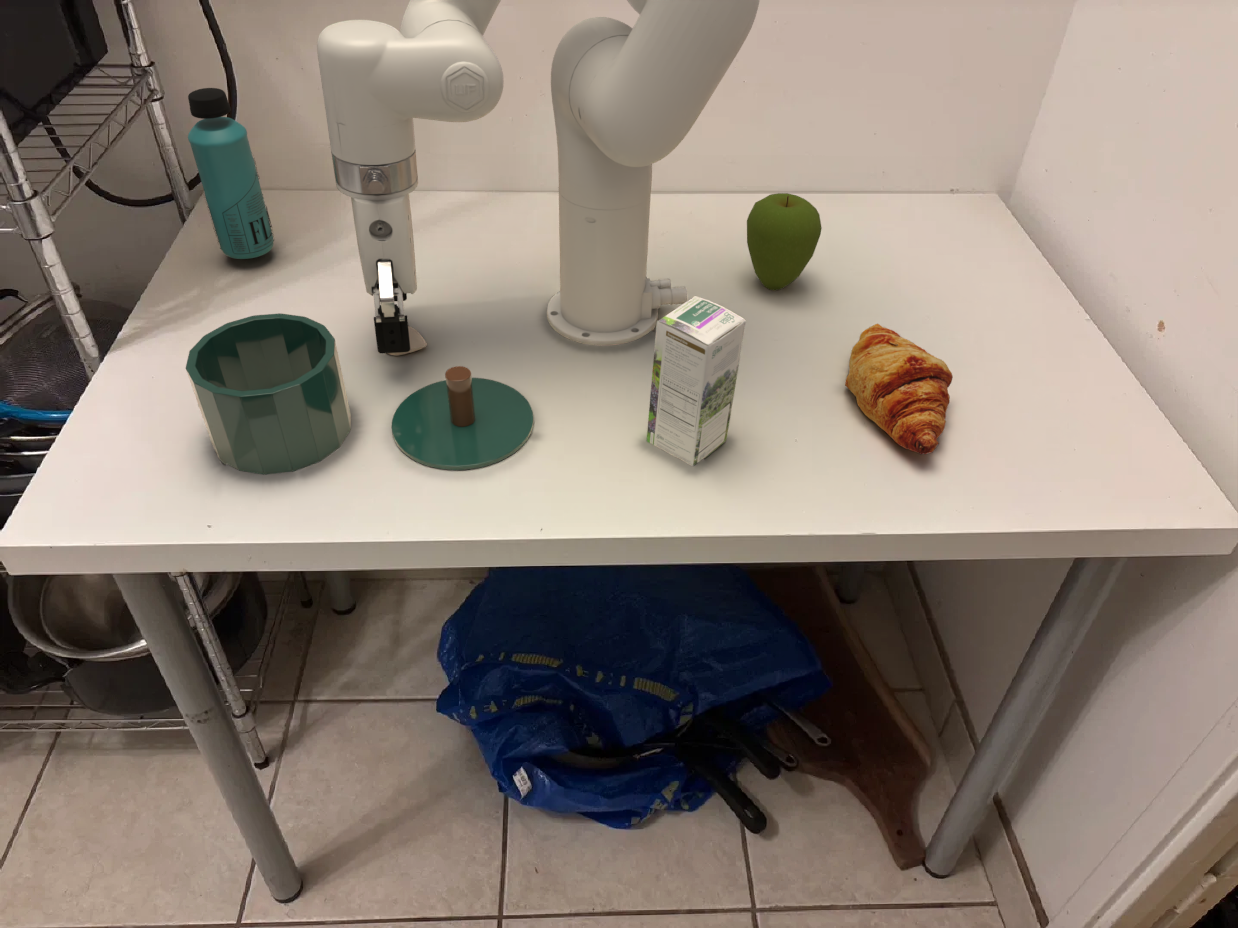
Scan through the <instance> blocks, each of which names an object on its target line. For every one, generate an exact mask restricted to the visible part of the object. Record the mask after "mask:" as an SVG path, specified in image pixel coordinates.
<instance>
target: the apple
mask: <svg viewBox="0 0 1238 928" xmlns="http://www.w3.org/2000/svg"><path fill="white" fill-rule="evenodd" d="M822 228H823V227H822V222H821V216H820V213H819V211H818V209H817V208H816V207H815V205H813V204H812V203H811V202H810V201H808V200H807V199H805V198H804V197H801V196H799V195H796V194H792V193H788V192H787V193H786V192H784V193H783V192H781V193H780V192H778V193H771V194H769V195H767V196H765V197H763V198H761V199H759V200H757V201H756V202H754V205H753V206H752V208H751V210H750V212H749V214H748V216H747V219H746V244H747V249H748V253H749V256H750V260H751V264H752V268H753V271H754V273H755V275H756V277H757V278H758V279H759V281H760V283H761V284H762V285H763V286H764V288H766V289H768V290H769V291H780V290H783V289H784V288H786V287H787V286H788V285H790V284H792V283H793V282H795V280H797V279H798V278H799V277H800V276H801V274H802V273H803V271H804V269H805V268H806V267H807V265H808V264H809V262H810V261H811V260H812V258H813V256H814V254H815V251H816V248H817V246H818V243H819V239H820V237H821V233H822V230H823V229H822Z"/></svg>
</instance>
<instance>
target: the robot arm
mask: <svg viewBox="0 0 1238 928" xmlns="http://www.w3.org/2000/svg"><path fill="white" fill-rule="evenodd" d="M501 1H502V0H409V1H408V4H407V6H406V8H405V11H404V14H403V16H402V19H401V23H400V27H399V30H398V29H397V28H396V27H394V26H393V25H391V24H388V23H385V22H381V21H377V20H371V19H349V20H342V21H338V22H335V23H331V24H329V25H327V26H326V27H325V28H323V29H322V31H320V33H319V34H318V38H317V42H316V51H317V60H318V67H319V74H320V82H321V90H322V96H323V104H324V109H325V116H326V123H327V130H328V138H329V146H330V153H331V160H332V167H333V173H334V180H335V187H336V189H337V190H338V191H339V192H340V193H341V194H343V195H345V196H346V197H349V198H350V199H351V200H350V201H351V210H352V215H353V221H354V229H355V236H356V237H355V238H356V243H357V244H356V245H357V248H358V254H359V260H360V261H359V262H360V266H361V272H362V277H363V281H364V286H365V290H366V291H365V292H366V293H367V294H368V295H370V296H372V297H373V303H374V304H373V305H374V312H375V313H374V315H375V316H373V323H374V325H373V326H374V333H375V340H376V349H377V352H378V353H379V354H382V355H383V354H387V353H400V352H409V351H410V340H409V330H408V326H409V322H408V319H409V318H408V314H407V315H405V309H404V308H405V307H404V306H405V305H404V302H405V301H407V299H408V294H410V295H414V294H415V293H416V292H417V290H418V284H417V283H418V281H417V268H416V255H415V254H416V253H415V244H414V231H413V219H412V209H411V201H410V194H411V193H412V192H413V191H415V190H416V188H417V187H418V185H419V177H418V176H419V175H418V164H417V152H416V149H417V148H416V139H415V138H416V137H415V125H414V119H419V120H420V119H421V120H430V121H436V122H446V123H469V122H473V121H477V120H479V119H480V120H481V118H484V117H485V116H487V115H488V114H490V113H491V112H492V111H493V110H494V109H495V108H496V106H497V105H498V104H499V102H500V101H501V97H502V95H503V91H504V84H505V83H504V71H503V68H502V66H501V62H500V59H499V58H498V55H497V54H496V53H495V51H494V50H493V48H492V47H491V45H490V43H489V42H488V41H487V40H486V38H485V36H484V35H485V33H486V31H487V28H488V27H489V24H490V22H491V20H492V18H493V16H494V14H495V13H496V10H497V9H498V6H499V4H500V3H501ZM626 1H627V3H628V4H629V5H630V7H631V8H632V9H633V10H634V11H635V12H636V13H637V14H639V16H638V17H637V19H636V21H635V23H634V25H633V27H631V26H630V25H629V24H626V23H625V22H623V21H621V20H619V19H615V18H612V17H606V16H595V17H590V18H586V19H584V20H582V21H579V22H577V23H576V24H574V25H573V26H572V27H571V28H569V30H567V31H566V33H565V34H564V35H563V36H562V38H561V40H559V43H558V44H557V46H556V49H555V51H554V55H553V57H552V62H551V69H550V94H551V103H552V110H553V119H554V126H555V134H556V146H557V166H558V167H557V168H558V169H557V172H558V239H559V244H558V245H559V290H558V291H557V292H556V293H555V294H554V295H553V296H551V298H550V300H549V301H548V302H547V306H546V319H547V321H548V323H549V325H550V327H551V328H552V329H553V330H554V331H555V332H556V333H557V334H559V335H560V336H562V337H564V338H566V339H568V340H570V341H573V342H576V343H579V344H583V345H589V346H597V347H598V346H599V347H605V346H619V345H625V344H628V343H632V342H634V341H637V340H639V339H641V338H643V337H645V336H647V335H648V334H649V333H650V332H653V331H654V329H656V325H657V321H658V320H659V319H658V318H659V317H658V316H659V315H658V314H659V313H658V311H659V309H660V307H661V306H666V305H671V306H673V305H674V306H675V305H682V304H684V303H685V302H687V301H688V290H687V287H686V286H685V285H684V286H675V287H672V281H671V279H670V277H669V278H659V279H652V280H651V279H650V277H647V270H648V254H649V253H648V252H649V235H650V233H649V232H650V213H651V199H652V198H651V195H652V186H653V184H652V183H653V164H655V163H657V162H659V161H661V160H662V159H664V158H666V157H667V156H668V155H669V154H671V153H672V152H673V151H674V150H675V149H676V148H677V147H678V146H679V145H680V144H681V143H682V142H683V140H684V139H685V138H686V136H687V135H688V133H689V132H690V131H691V130H692V128H693V126H694V125H695V123H696V122H697V120H698V118H699V117H700V116H701V114H702V112H703V110H704V109H705V107H706V105H707V104H708V103H709V101H710V100H711V98H712V96H713V94H714V92H715V91H716V89H717V87H718V86H719V85H720V83H721V81H722V80H723V78H724V77H725V75H726V73H727V72H728V70H729V68H730V67H731V65H732V63H734V60H735V58H736V57H737V55H738V54H739V52H740V50H741V48H742V47H743V45H744V43H745V41H746V39H747V38H748V36H749V34H750V32H751V30H752V27H753V25H754V22H755V19H756V16H757V13H758V11H759V10H758V9H759V5H760V1H761V0H626ZM395 302H397V303H395Z"/></svg>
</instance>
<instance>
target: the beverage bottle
mask: <svg viewBox="0 0 1238 928" xmlns="http://www.w3.org/2000/svg"><path fill="white" fill-rule="evenodd" d="M187 100H188V103H189V111H190V114H191V116H192V117H193V118H196V119H200V120H199V121H197V122H196V123H195V124H194V125H193V127H192V128H191V129H190V130H189V133H188V134H187V139H188V142H189V144H190V148H191V151H192V154H193V158H194V161H195V164H196V168H197V171H198V175H199V178H200V182H201V185H202V188H203V193H204V200H205V202H206V205H207V211H208V214H209V216H210V221H211V224H212V225H213V226H212V228H213V230H214V231H213V232H214V234H215V235H216V238H217V243H218V245H219V249H220V250H221V251H222V253H223V254H224V256H227V257H228V258H231V259H237V260H246V259H247V260H249V259H253V258H258V257H261V256H264V255H266V254H267V253H269V252H270V251H271V250H272V249H273V247H274V242H275V240H276V239H275V238H276V237H275V235H274V232H273V231H274V229H273V225H272V222H271V218H270V214H269V211H268V206H267V205H266V201H265V198H264V194H263V191H262V188H261V183H260V175H259V172H258V167H257V163H256V161H255V157H254V156H255V155H254V154H253V152H252V149H251V144H250V141H249V137H248V131H247V128H246V127H245V126H244V125H243V124H241V123H240V122H238V121H237V120H235V119H233V118H232V117H226V116H227V115H229V114H230V113H231V111H232V107H231V105H230V102H229V100H228V96H227V93H226V92H225V90H223V89H222V88H216V87H203V88H199V89H195V90H192V91H191V92H190V93H189V94H188V96H187Z"/></svg>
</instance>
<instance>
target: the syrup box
mask: <svg viewBox="0 0 1238 928" xmlns="http://www.w3.org/2000/svg"><path fill="white" fill-rule="evenodd" d="M746 323H747V320H746V319H745V318H743V317H742V316H740V315H739V314H737V313H735V312H733V311H732V310H730V309H728V308H726V307H724V306H722V305H720V304H718V303H716V302H714V301H711V300H709V299H706V298H703V297H700V296H696V295H694V296H693V297H691V298H690V299H689V300H688V299H687V302H685V303H684V304H680V305H679V306H678V307H676V308H675V309H673V310H672V311H670V312H669V313H667V314H666V315H665V316H663V317H661V318H660V319H657V324H656V326H655V335H654V336H655V337H654V338H655V339H654V349H653V360H652V372H651V383H650V395H649V407H648V408H649V409H648V419H647V430H646V431H647V432H646V440H645V441H646V442H647V443H649V444H651V445H652V446H654V447H656V448H658V449H660V450H662V451H663V452H665V453H667V454H669V455H671V456H672V457H674V458H677V459H678V460H680V461H682V462H684V463H686V464H687V465H690V466H691V467H694V466H696V465H697V464H698V463H700V462H701V461H702V460H706V458H708V457H709V456H710V455H711V454H712V453H714V452H715V451H716V450H718V448H719V447H721V446H722V445H723V444H724V443H725V442H726V441H727V439H728V434H729V428H730V421H731V416H732V408H733V402H734V397H735V390H736V384H737V378H738V371H739V366H740V361H741V360H740V359H741V353H742V347H743V340H744V334H745V329H746Z"/></svg>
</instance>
